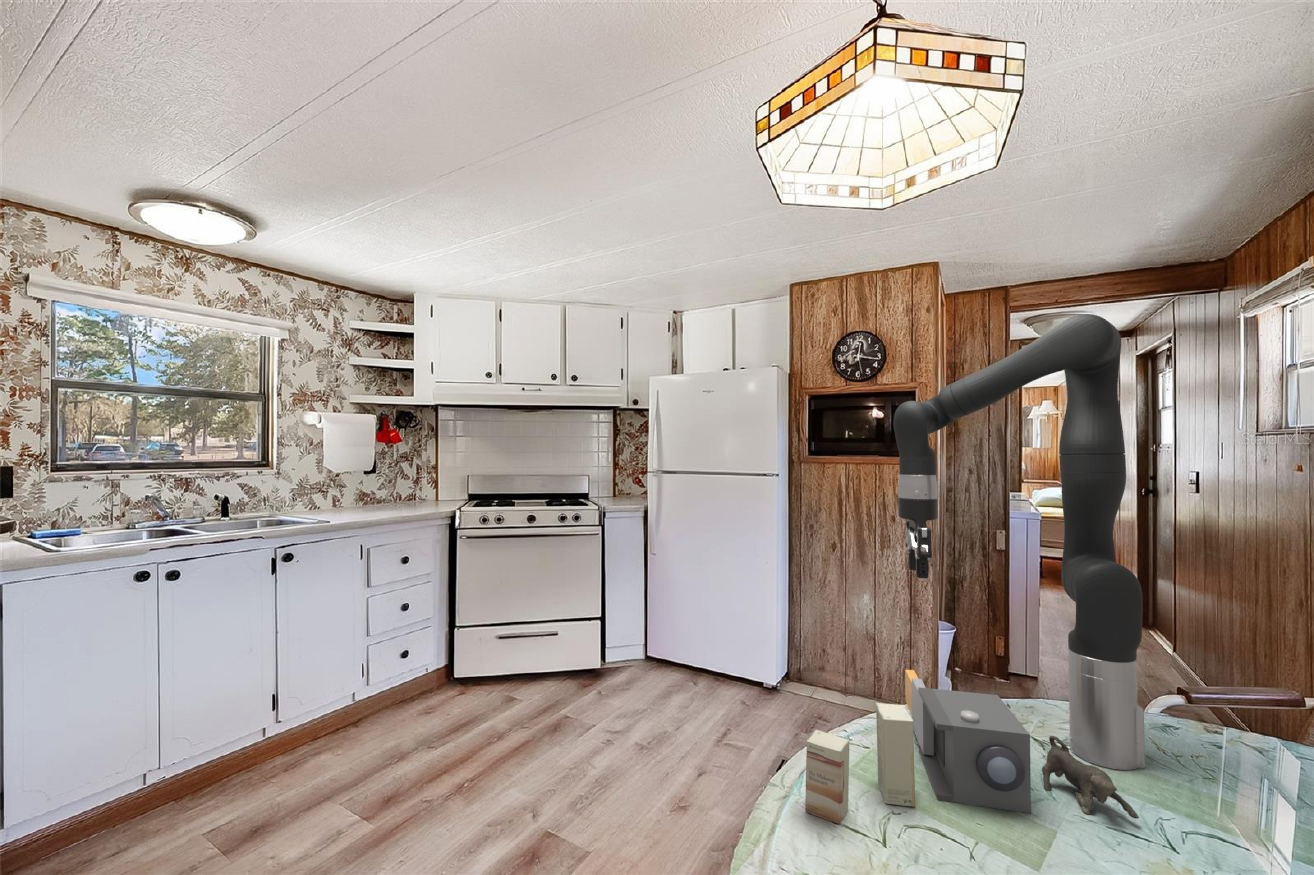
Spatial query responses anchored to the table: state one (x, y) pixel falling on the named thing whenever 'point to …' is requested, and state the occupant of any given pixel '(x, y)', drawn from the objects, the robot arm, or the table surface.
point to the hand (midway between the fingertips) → (918, 573)
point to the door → (919, 713)
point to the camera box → (977, 751)
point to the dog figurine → (1081, 778)
